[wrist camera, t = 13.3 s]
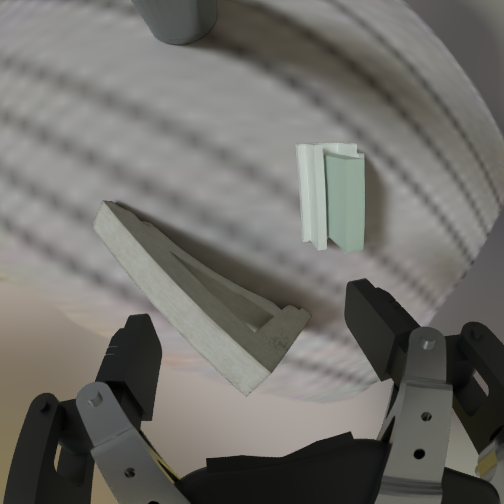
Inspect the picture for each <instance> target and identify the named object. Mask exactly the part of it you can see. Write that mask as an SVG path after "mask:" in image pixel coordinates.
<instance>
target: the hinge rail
mask: <svg viewBox="0 0 504 504" xmlns="http://www.w3.org/2000/svg"><path fill="white" fill-rule="evenodd" d="M295 146H296V157H297V168H298V181H299V194H300V210H301V227H302V240H303V241H304V242H308V241H311V242H312V243H313V245H314V246H315V247H316V248H317V249H318V250H324V249H327V239H328V238H330V237H329V236H328V235H327V228H326V195H325V175H324V159H323V154H333V153H334V154H340V155H346V156H351V157H356V158H361V159H364V153H357V145H356V143H351V142H336V143H312V144H296V145H295ZM364 172H365V164H364ZM364 230H365V219H364Z"/></svg>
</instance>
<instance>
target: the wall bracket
mask: <svg viewBox="0 0 504 504" xmlns="http://www.w3.org/2000/svg"><path fill="white" fill-rule="evenodd" d="M92 228H93V229H94V231H95V232H96V233H97V235H98V236H99V238H100V239H101V240H102V242H103V243H104V244H105V246H106V247H107V248H108V250H109V251H110V252H111V254H112V255H113V256H114V258H115V259H116V260H117V261H118V263H119V264H120V265H121V267H122V268H123V269H124V270H125V272H126V273H127V274H128V275H129V277H130V278H131V279H132V280H133V281H134V283H135V284H136V285H137V286H138V287H139V289H140V290H141V291H142V292H143V293H144V295H145V296H146V297H147V298H148V299H149V300H150V301H151V303H152V304H153V305H154V306H155V307H156V308H157V309H158V311H159V312H160V313H161V314H162V315H163V316H164V317H165V318H166V319H167V320H168V322H169V323H170V324H171V325H172V326H173V327H174V328H175V329H176V330H177V331H178V332H179V333H180V334H181V335H182V336H183V337H184V338H185V340H186V341H187V342H188V343H189V344H190V345H191V346H192V347H193V348H194V349H195V350H196V351H197V352H198V353H199V354H200V355H201V356H202V357H203V358H204V359H206V360H207V361H208V362H209V363H210V364H211V365H212V366H213V367H214V368H215V369H216V370H217V371H218V372H219V373H220V374H221V375H222V376H224V377H225V378H226V379H227V380H228V381H229V382H230V383H231V384H232V385H233V386H235V387H236V388H237V389H238V390H239V391H240V392H241V393H243V394H244V395H245V396H248V395H249V394H250V393H251V392H252V391H253V390H254V389H255V388H257V387H258V386H259V385H260V384H261V383H262V382H263V381H264V380H265V379H266V378H267V377H268V376H269V375H270V374H271V373H272V372H273V371H274V369H275V368H276V367H277V365H278V364H279V362H280V361H281V360H282V358H283V357H284V356H285V354H286V353H287V351H288V350H289V348H290V347H291V346H292V344H293V343H294V341H295V340H296V338H297V337H298V335H299V334H300V333H301V331H302V330H303V328H304V327H305V325H306V324H307V322H308V321H309V319H310V318H311V316H312V315H311V314H310V313H308V312H307V311H306V310H305V309H304V308H301V309H300V310H299V309H297V308H296V307H294V306H292V305H287V306H286V307H285V308H283V309H282V310H281V309H280V308H279V307H277V306H276V305H275V304H274V303H273V302H272V301H270V300H267V299H265V298H263V297H261V296H259V295H257V294H255V293H253V292H250V291H248V290H246V289H244V288H242V287H240V286H239V285H237V284H235V283H233V282H232V281H230V280H228V279H226V278H225V277H223V276H221V275H219V274H218V273H216V272H214V271H212V270H211V269H209V268H208V267H206V266H205V265H203V264H202V263H201V262H199V261H198V260H196V259H195V258H193V257H192V256H191V255H189V254H188V253H186V252H185V251H184V250H182V249H181V248H179V247H178V246H177V245H176V244H175V243H173V242H172V241H171V240H170V239H169V238H168V237H166V236H165V235H164V234H163V233H162V232H161V231H159V230H158V229H157V228H156V227H155V226H154V225H153V224H151V223H150V222H146V221H140V220H139V219H138V218H137V217H136V216H135V214H134V213H133V212H131V211H129V210H126V209H124V208H122V207H120V206H118V205H116V204H115V203H114V202H112V201H104V200H103V201H102V204H101V206H100V208H99V211H98V213H97V215H96V218H95V220H94V223H93V225H92Z"/></svg>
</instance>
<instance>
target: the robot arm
mask: <svg viewBox="0 0 504 504" xmlns="http://www.w3.org/2000/svg"><path fill="white" fill-rule="evenodd" d="M131 1H132V2H133V4H134V5H135V7H136V8H137V10H138V11H139V13H140V15H141V16H142V18H143V19H144V21H145V22H146V24H147V26H148V27H149V29H150V30H151V32H152V33H153V35H154V36H155V37H156V38H157V39H158V40H160V41H162V42H164V43H168V44H175V45H180V44H187V43H191V42H194V41H196V40H198V39H200V38H202V37H203V36H205V35H206V34H207V33H208V32H209V31H210V30H211V29H212V27H213V26H214V24H215V22H216V17H217V0H131ZM344 314H345V321H346V324H347V326H348V328H349V330H350V331H351V333H352V335H353V336H354V338H355V339H356V341H357V342H358V344H359V346H360V347H361V349H362V351H363V352H364V354H365V355H366V357H367V359H368V360H369V362H370V364H371V365H372V367H373V369H374V370H375V372H376V373H377V375H378V377H379V378H380V380H381V381H384V380H387V379H390V378H392V380H393V381H394V383H393V386H392V389H391V394H390V398H389V402H388V406H387V410H386V414H385V417H384V421H383V424H382V427H381V430H380V432H379V434H378V437H377V439H376V440H374V439H354V438H353V436H352V434H351V432H347V433H343V434H340V435H337V436H334V437H330V438H327V439H323V440H319V441H316V442H314V443H312V444H310V445H308V446H306V447H304V448H302V449H300V450H298V451H295V452H293V453H291V454H289V455H286V456H284V457H257V456H245V455H240V456H230V457H219V458H206V462H207V467H204V468H201V469H198V470H195V471H193V472H191V473H189V474H187V475H186V476H185V477H183V478H180V477H179V476H178V475H177V474H176V473H175V472H174V471H173V469H172V468H171V467H170V466H169V465H168V464H167V463H166V462H165V460H164V459H163V458H162V457H161V455H160V454H159V453H158V452H157V450H156V449H155V448H154V446H153V445H152V444H151V442H150V441H149V439H148V438H147V437H146V435H145V434H144V432H143V431H142V430H141V429H140V426H141V421H152V416H153V408H154V401H155V394H156V388H157V382H158V376H159V370H160V365H161V359H162V348H161V344H160V341H159V338H158V336H157V334H156V331H155V328H154V326H153V323H152V321H151V318H150V316H149V315H148V314H138V315H130V316H129V317H128V319H127V322H126V324H125V327H124V328H120V329H119V330H118V331H117V332H116V333H115V334H114V336H113V337H112V339H111V341H110V344H109V348H108V349H107V351H106V356H104V359H103V361H102V364H101V366H100V369H99V372H98V374H97V377H96V380H95V382H92V383H90V384H87V385H85V386H84V387H83V388H82V389H81V390H80V391H79V392H78V394H77V397H76V399H72V400H67V401H62V402H59V401H58V399H57V398H56V397H55V396H54V395H53V394H51V393H43V394H41V395H38V396H37V397H36V398H35V399H34V400H33V401H32V403H31V405H30V407H29V410H28V412H27V415H26V418H25V421H24V424H23V426H22V429H21V432H20V435H19V438H18V442H17V445H16V449H15V452H14V455H13V459H12V463H11V467H10V471H9V475H8V480H7V485H6V490H5V496H4V502H3V504H91V503H90V502H91V491H92V480H93V471H94V464H95V463H96V465H97V467H98V469H99V470H100V472H101V474H102V476H103V478H104V479H105V481H106V483H107V485H108V487H109V488H110V490H111V492H112V493H113V495H114V497H115V498H116V500H117V501H118V503H119V504H503V503H504V345H503V344H502V343H501V341H499V339H498V338H497V337H496V336H495V335H494V334H493V333H492V332H491V331H490V330H489V329H488V328H487V327H486V326H485V325H483V324H481V323H479V322H468V323H466V324H465V325H464V326H463V328H462V330H461V333H460V334H459V335H452V336H443V334H442V333H441V332H440V331H438V330H437V329H434V328H431V327H420V325H419V324H418V323H417V322H416V321H415V320H414V319H413V318H412V317H411V316H410V314H409V313H408V312H407V311H406V310H405V309H404V308H403V307H401V305H400V304H399V303H398V302H397V301H396V300H395V299H394V298H393V297H392V295H391V294H390V293H389V292H387V291H385V290H383V289H381V288H379V287H378V288H375V287H374V286H373V285H372V284H371V283H370V282H369V281H368V280H367V279H366V278H364V279H359V280H355V281H350V282H348V283H347V288H346V301H345V313H344ZM476 370H477V371H478V373H479V374H480V375H481V377H482V378H483V380H484V381H485V382H486V384H487V385H488V388H489V394H488V397H487V396H486V394H485V392H484V391H483V389H482V388H481V387H480V385H479V384H478V383H477V381H476V380H475V378H474V377H473V375H474V373H475V372H476ZM452 408H453V409H454V411H455V413H456V414H457V416H458V418H459V419H460V421H461V423H462V425H463V426H464V428H465V430H466V432H467V433H468V435H469V437H470V439H471V441H472V443H473V445H474V447H475V449H476V450H477V452H478V454H479V457H478V465H477V466H476V468H475V473H476V475H477V476H480V478H477V477H474V476H471V475H468V474H465V473H462V472H459V471H456V470H453V469H450V468H447V467H444V466H445V460H446V455H447V448H448V442H449V434H450V425H451V414H452ZM58 444H59V445H60V446H62V447H61V452H60V456H59V461H58V467H57V472H56V470H55V467H54V459H55V454H56V450H57V445H58Z"/></svg>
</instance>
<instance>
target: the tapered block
mask: <svg viewBox="0 0 504 504" xmlns="http://www.w3.org/2000/svg"><path fill="white" fill-rule="evenodd" d="M323 159H324V175H325V195H326V228H327V235H328V236H329V237H330V238H331V239H332V240H333V241H334V242H335V243H336V244H337V245H338V246H339V247H340V248H341V249H342V250H343V251H344V252H345V253H349V252H355V251H361V250H363V244H364V216H365V178H364V159H361V158H356V157H351V156H346V155H340V154H334V153H333V154H323Z"/></svg>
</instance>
